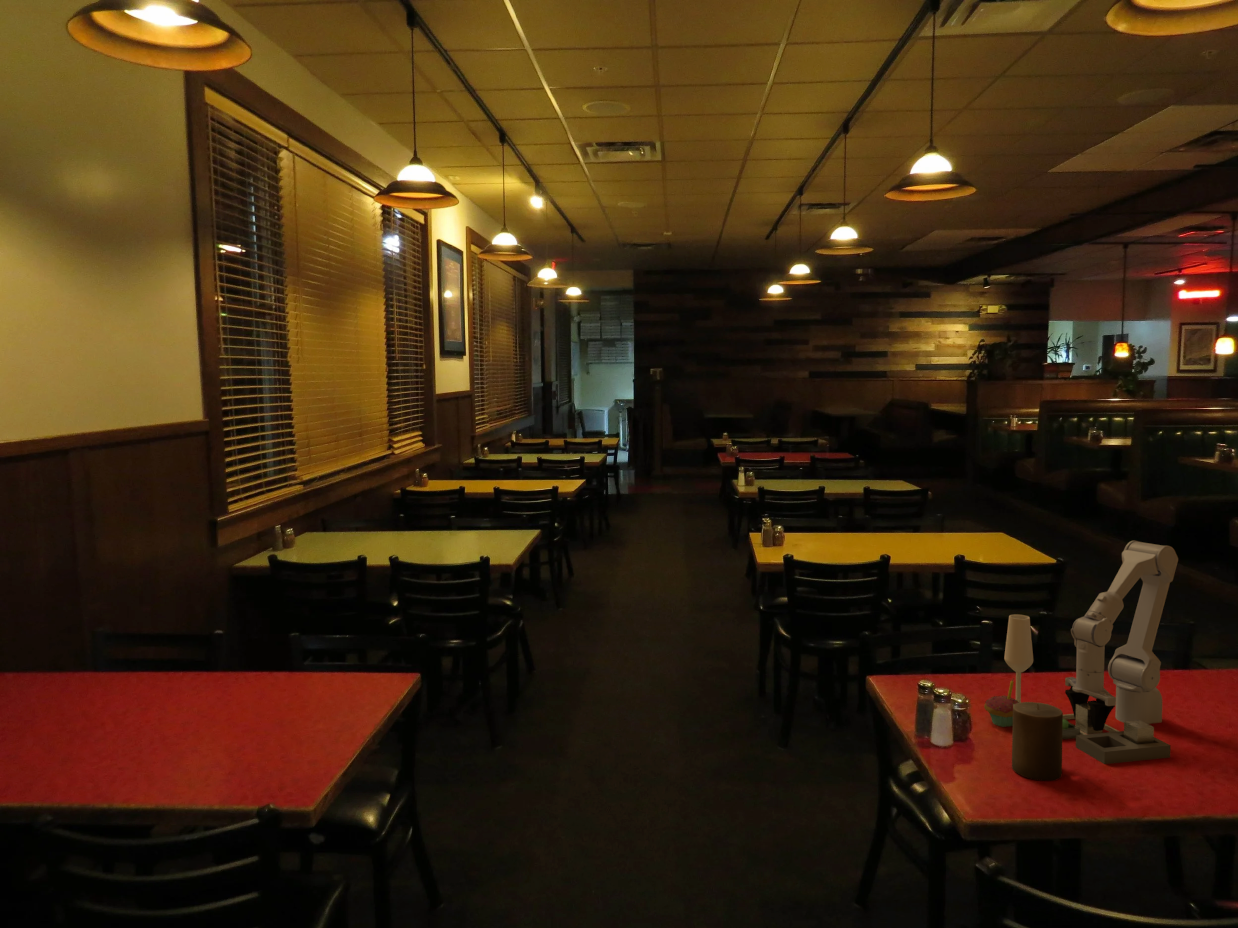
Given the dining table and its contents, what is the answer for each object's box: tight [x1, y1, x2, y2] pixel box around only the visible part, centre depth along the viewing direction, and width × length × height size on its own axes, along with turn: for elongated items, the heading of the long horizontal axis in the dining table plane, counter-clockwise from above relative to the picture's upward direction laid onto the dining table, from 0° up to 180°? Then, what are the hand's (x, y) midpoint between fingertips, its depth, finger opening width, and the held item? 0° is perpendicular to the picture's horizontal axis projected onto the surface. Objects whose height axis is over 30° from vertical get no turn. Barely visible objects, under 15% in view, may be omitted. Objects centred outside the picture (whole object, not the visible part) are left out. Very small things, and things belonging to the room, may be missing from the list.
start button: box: [1062, 719, 1069, 729], centre depth 200 cm, size 4×4×4 cm
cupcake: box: [983, 677, 1019, 728], centre depth 207 cm, size 9×8×12 cm
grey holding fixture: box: [1075, 730, 1171, 765], centre depth 189 cm, size 16×9×4 cm, turn 99°
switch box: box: [1062, 721, 1081, 740], centre depth 200 cm, size 6×6×3 cm
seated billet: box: [1123, 720, 1155, 745], centre depth 190 cm, size 4×4×6 cm
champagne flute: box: [1003, 614, 1034, 703], centre depth 217 cm, size 7×7×24 cm
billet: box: [1075, 702, 1104, 734], centre depth 202 cm, size 4×4×6 cm
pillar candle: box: [1011, 701, 1064, 782], centre depth 182 cm, size 10×10×15 cm
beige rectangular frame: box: [1063, 713, 1119, 735], centre depth 202 cm, size 9×14×2 cm, turn 9°
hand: (1088, 724), depth 202 cm, fingers open, 6 cm apart
